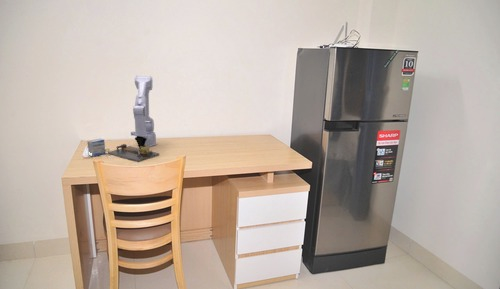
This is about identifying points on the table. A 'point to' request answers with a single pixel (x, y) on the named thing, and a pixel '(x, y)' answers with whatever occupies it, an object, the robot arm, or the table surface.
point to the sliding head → (144, 149)
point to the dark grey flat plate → (131, 154)
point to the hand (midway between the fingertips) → (141, 149)
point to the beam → (124, 147)
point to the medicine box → (96, 147)
